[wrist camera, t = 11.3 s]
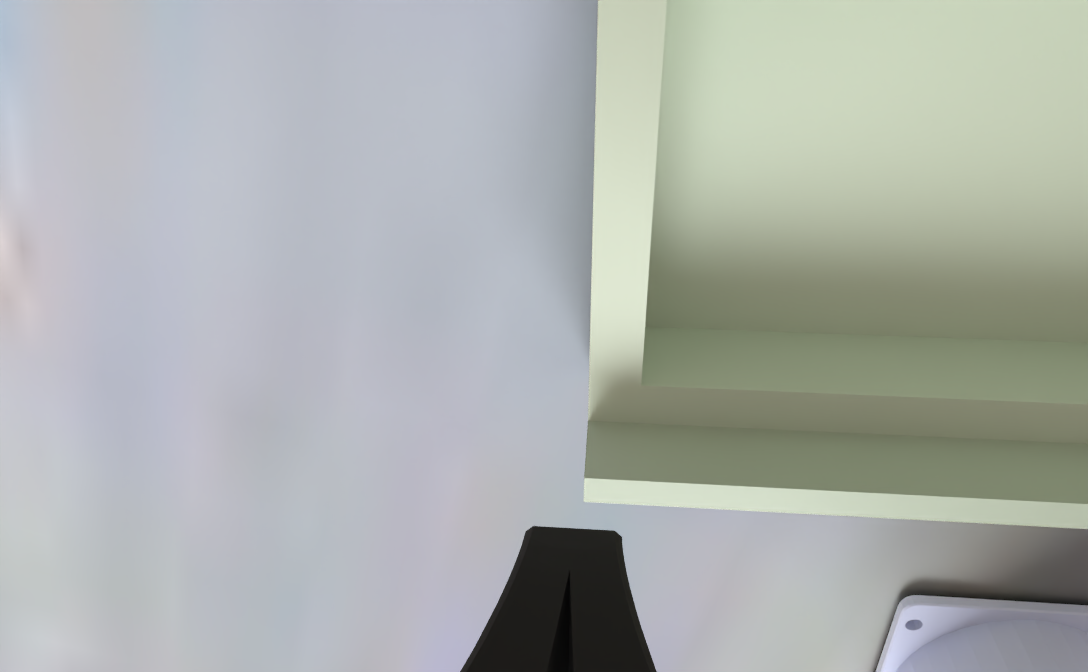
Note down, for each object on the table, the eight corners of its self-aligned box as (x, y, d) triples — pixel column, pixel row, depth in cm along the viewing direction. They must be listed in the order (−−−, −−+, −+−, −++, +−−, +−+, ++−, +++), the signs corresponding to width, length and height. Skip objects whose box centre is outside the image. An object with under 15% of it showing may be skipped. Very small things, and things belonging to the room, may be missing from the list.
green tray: (1246, 396, 21) (1414, 546, 16) (592, 369, 22) (584, 501, 18) (1590, -210, 14) (2041, -231, 9) (607, -195, 15) (598, -207, 11)
